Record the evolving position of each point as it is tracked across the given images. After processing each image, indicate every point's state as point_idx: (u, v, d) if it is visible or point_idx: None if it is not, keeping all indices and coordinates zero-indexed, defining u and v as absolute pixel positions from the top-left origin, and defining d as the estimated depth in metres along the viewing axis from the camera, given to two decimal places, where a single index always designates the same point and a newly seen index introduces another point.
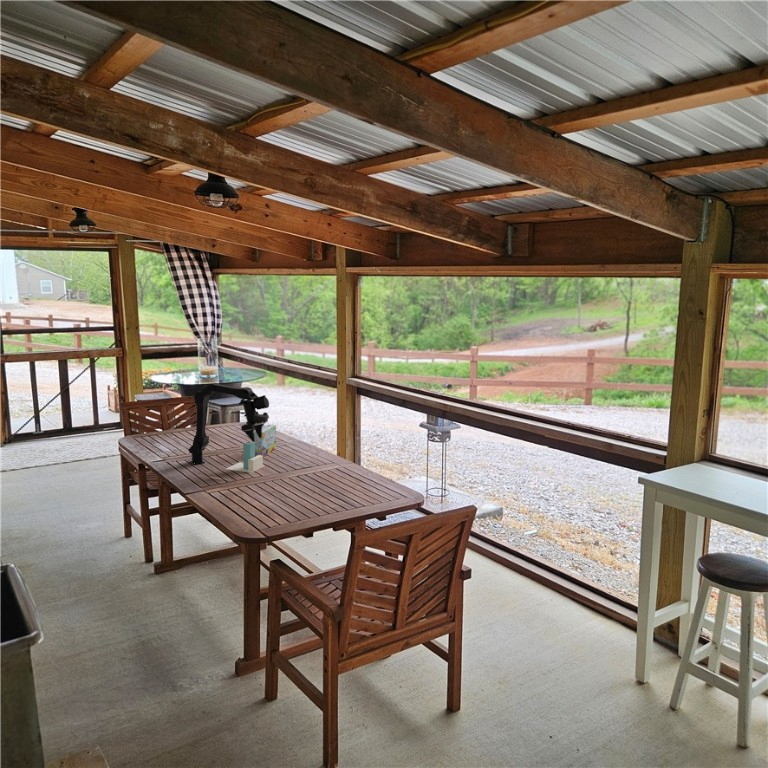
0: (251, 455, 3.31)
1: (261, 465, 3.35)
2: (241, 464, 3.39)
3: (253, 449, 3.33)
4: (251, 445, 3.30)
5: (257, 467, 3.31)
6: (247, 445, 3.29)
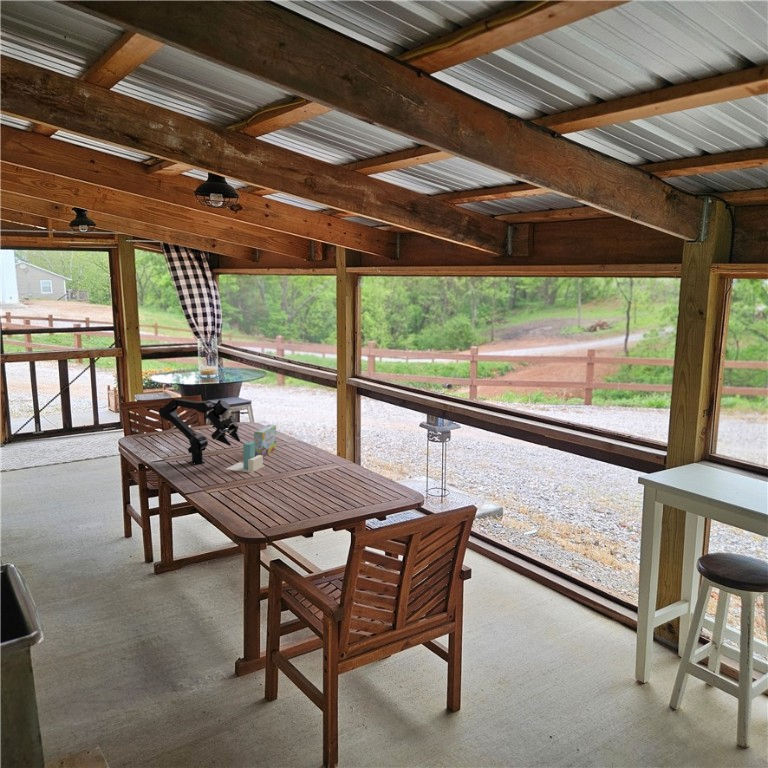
0: (251, 455, 3.31)
1: (261, 465, 3.35)
2: (241, 464, 3.39)
3: (253, 449, 3.33)
4: (251, 445, 3.30)
5: (257, 467, 3.31)
6: (247, 445, 3.29)
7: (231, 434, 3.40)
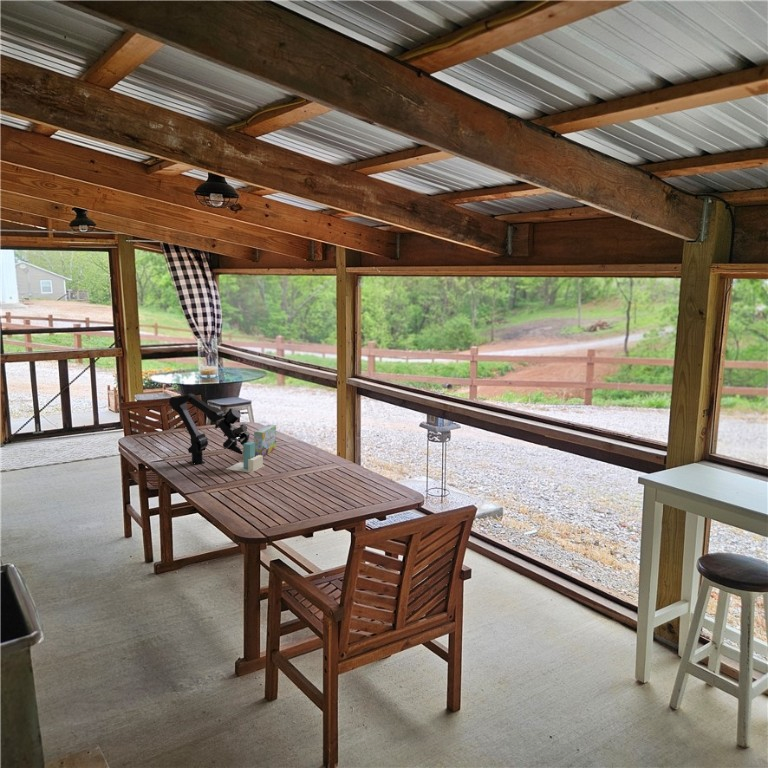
0: (251, 455, 3.31)
1: (261, 465, 3.35)
2: (241, 464, 3.39)
3: (253, 449, 3.33)
4: (251, 445, 3.30)
5: (257, 467, 3.31)
6: (247, 445, 3.29)
7: (242, 443, 3.39)
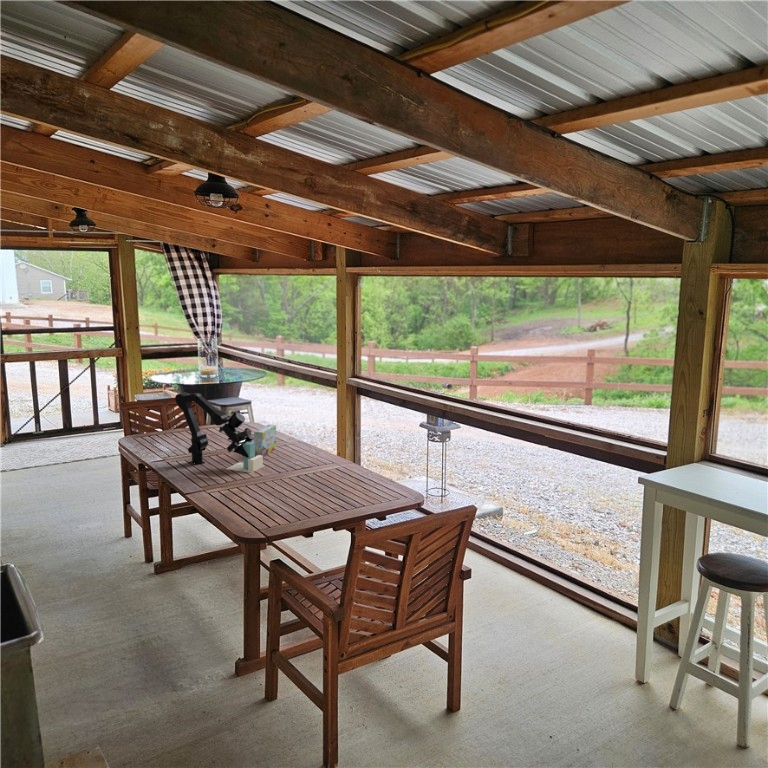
0: (251, 455, 3.31)
1: (261, 465, 3.35)
2: (241, 464, 3.39)
3: (253, 449, 3.33)
4: (251, 445, 3.30)
5: (257, 467, 3.31)
6: (247, 445, 3.29)
7: None
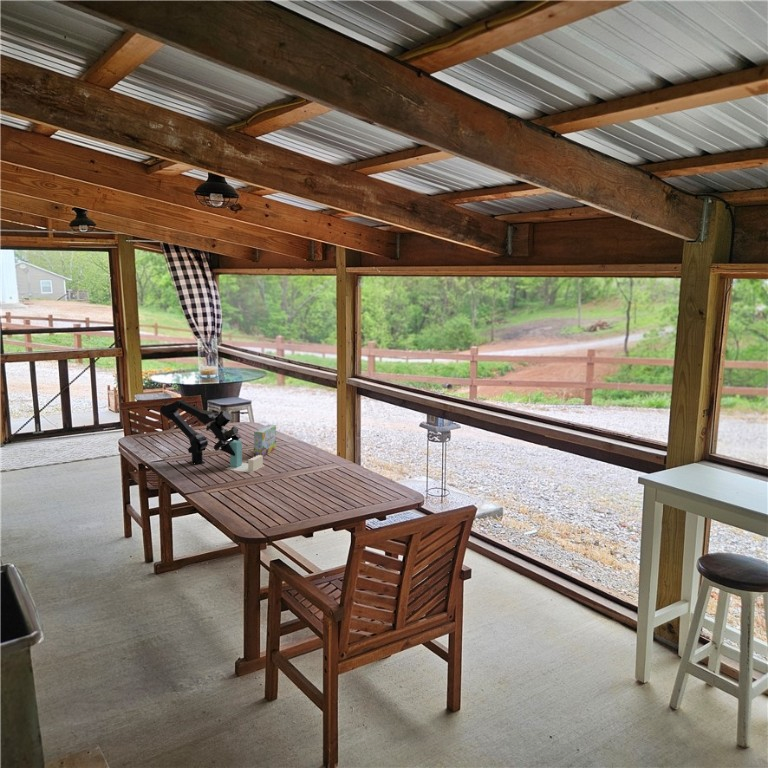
0: (238, 453, 3.34)
1: (261, 465, 3.35)
2: None
3: (240, 447, 3.35)
4: (238, 443, 3.33)
5: (257, 467, 3.31)
6: (234, 443, 3.32)
7: None
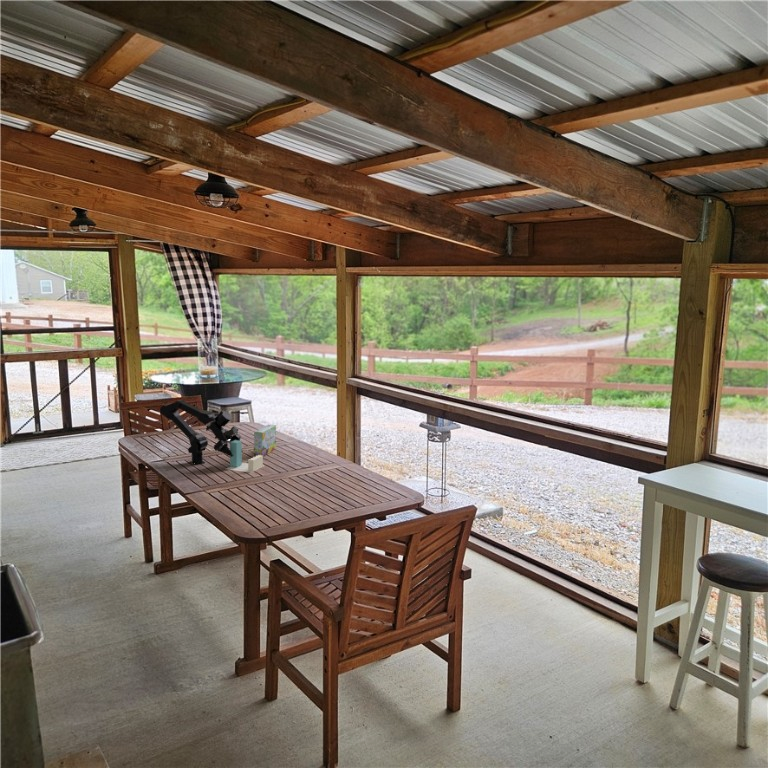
0: (238, 453, 3.34)
1: (261, 465, 3.35)
2: None
3: (240, 447, 3.35)
4: (238, 443, 3.33)
5: (257, 467, 3.31)
6: (234, 443, 3.32)
7: None
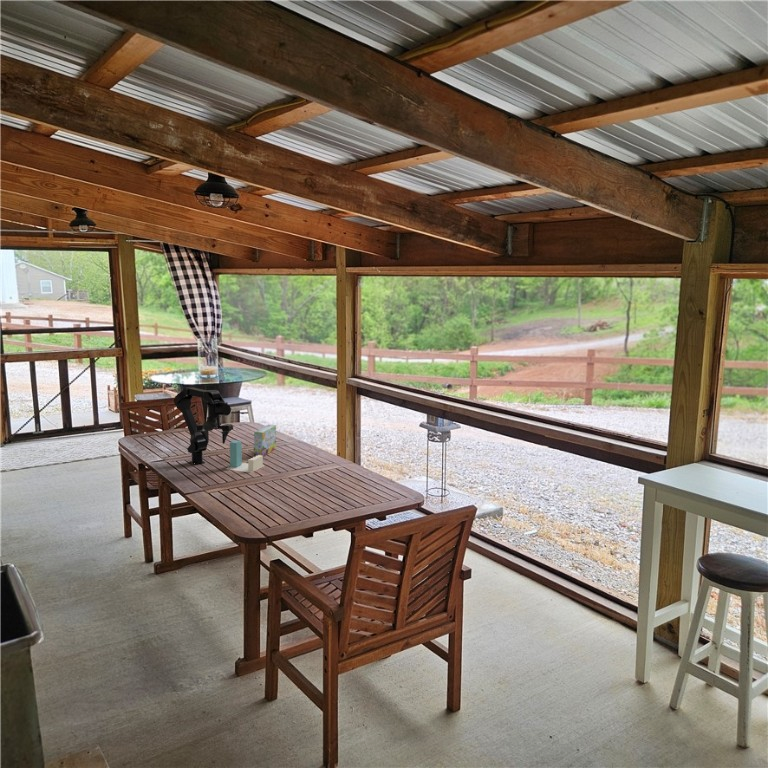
0: (238, 453, 3.34)
1: (261, 465, 3.35)
2: None
3: (240, 447, 3.35)
4: (238, 443, 3.33)
5: (257, 467, 3.31)
6: (234, 443, 3.32)
7: None
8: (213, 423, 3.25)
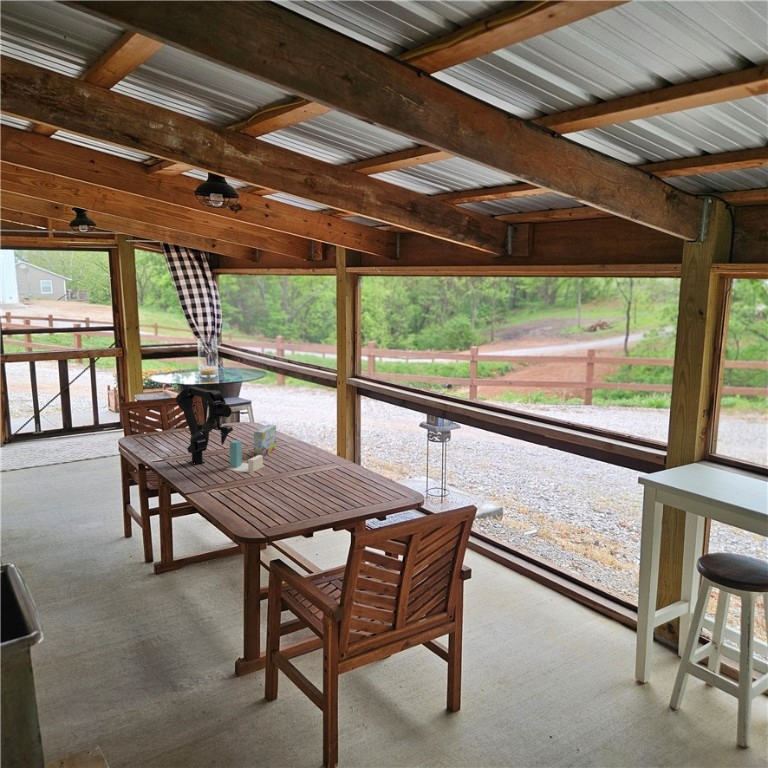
0: (238, 453, 3.34)
1: (261, 465, 3.35)
2: None
3: (240, 447, 3.35)
4: (238, 443, 3.33)
5: (257, 467, 3.31)
6: (234, 443, 3.32)
7: None
8: (212, 424, 3.24)
